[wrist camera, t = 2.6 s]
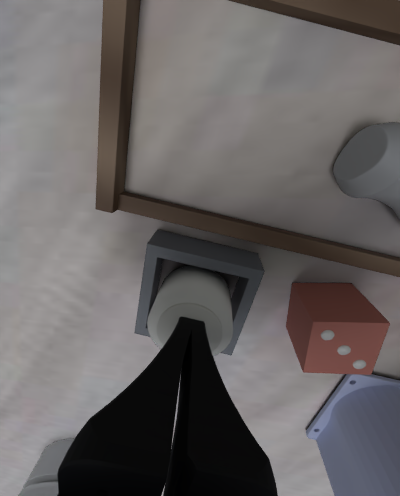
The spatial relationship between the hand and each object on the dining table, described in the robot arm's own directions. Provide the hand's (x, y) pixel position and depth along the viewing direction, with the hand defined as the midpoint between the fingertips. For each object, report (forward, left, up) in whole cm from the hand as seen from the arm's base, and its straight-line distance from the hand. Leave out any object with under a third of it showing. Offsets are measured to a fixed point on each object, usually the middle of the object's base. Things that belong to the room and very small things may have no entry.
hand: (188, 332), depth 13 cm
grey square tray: (0, 0, -5) cm, 5 cm away
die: (0, -9, -5) cm, 10 cm away
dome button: (0, 0, -3) cm, 3 cm away
